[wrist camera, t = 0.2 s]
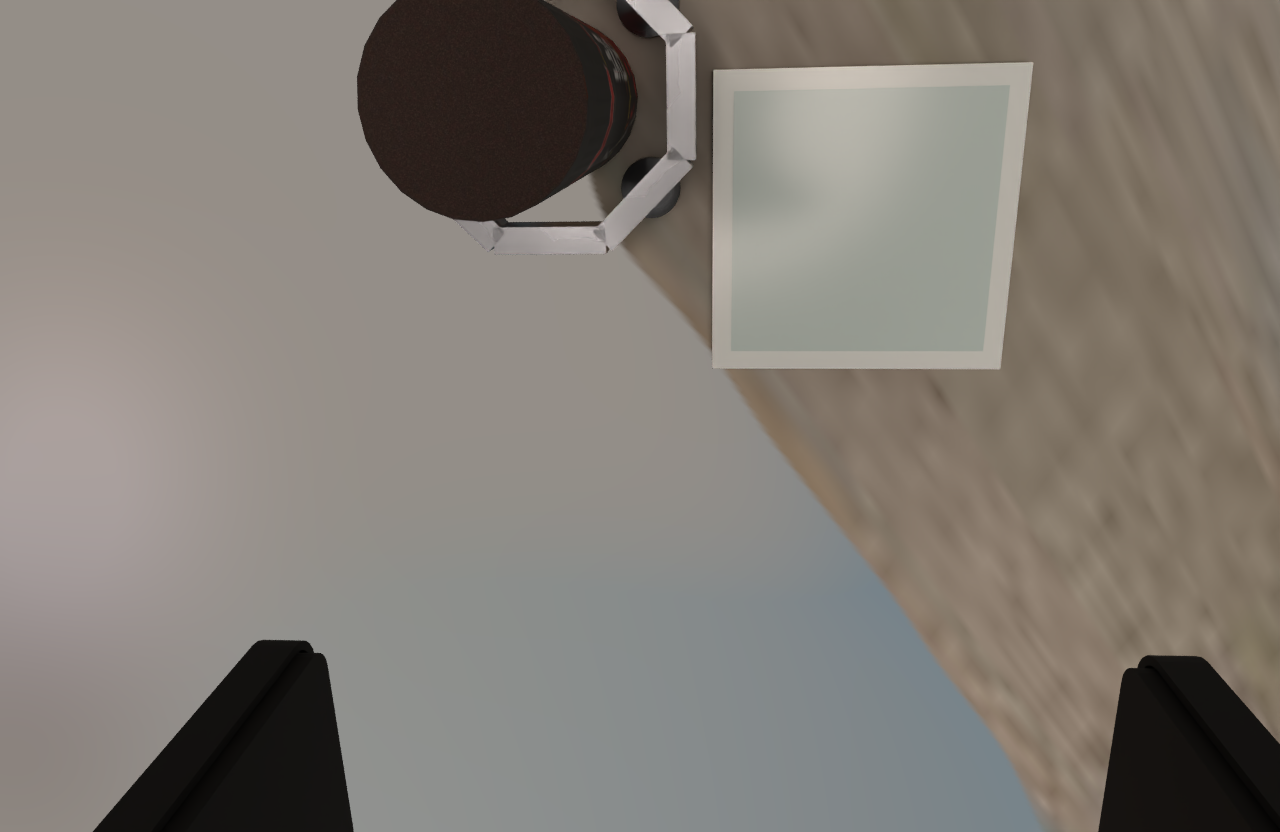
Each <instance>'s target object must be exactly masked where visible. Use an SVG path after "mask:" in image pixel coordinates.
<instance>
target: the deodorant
mask: <svg viewBox="0 0 1280 832" xmlns="http://www.w3.org/2000/svg"><path fill="white" fill-rule="evenodd" d="M357 93H358V112H359V116H360V120H361V123H362V127H363V131H364V135H365V139H366V142H367V143H368V145H369V147H370V149H371V151H372V153H373V155H374V156H375V159H376V160H377V162H378V164H379V166H380V168H381V169H382V170H383V171H384V172H385V174H386V175H387V176H388V177H389V178H390V179H391V180H392V182H393V183H394V184H395V185H396V186H397V187H398V188H399V190H400V191H401V192H403V193H404V194H406V195H407V196H408V197H410V198H411V199H413V200H414V201H415V202H417V203H418V204H420V205H421V206H423V207H424V208H426V209H428V210H430V211H433V212H435V213H438V214H441V215H444V216H447V217H449V218H452V219H454V220H465V221H476V222H487V221H493V220H498V219H503V218H509V217H513V216H515V215H517V214H519V213H521V212H523V211H525V210H527V209H529V208H531V207H533V206H535V205H537V204H539V203H541V202H542V201H544V200H546V199H547V198H549V197H551V196H552V195H554V194H556V193H558V192H559V191H561V190H562V189H564V188H566V187H568V186H569V185H571V184H573V183H574V182H576V181H578V180H579V179H581V178H583V177H584V176H586V175H588V174H589V173H591V172H593V171H594V170H596V169H598V168H599V167H601V166H603V165H604V164H606V163H607V162H608V161H609V160H610V159H611V158H612V157H614V156H615V155H616V154H617V153H618V152H619V151H620V149H621V148H622V146H623V145H624V143H625V142H626V140H627V139H628V137H629V136H630V133H631V130H632V127H633V124H634V121H635V118H636V109H637V97H638V96H637V90H636V84H635V78H634V75H633V73H632V70H631V68H630V66H629V64H628V61H627V59H626V57H625V56H624V55H623V53H622V52H621V51H620V50H619V48H618V47H617V46H616V45H615V43H614V42H613V41H612V40H610V39H609V38H608V37H606V36H605V35H604V34H602V33H601V32H600V31H598V30H597V29H595V28H593V27H591V26H589V25H588V24H586V23H584V22H582V21H580V20H578V19H577V18H575V17H573V16H571V15H569V14H567V13H566V12H564V11H562V10H560V9H558V8H556V7H555V6H553V5H551V4H549V3H547V2H545V1H544V0H396V1H395V2H394V3H393V4H392V5H391V7H390V8H389V9H388V10H387V11H386V12H385V13H384V14H383V15H382V16H381V17H380V18H379V20H378V22H377V23H376V25H375V27H374V29H373V31H372V33H371V35H370V36H369V38H368V40H367V42H366V44H365V46H364V50H363V55H362V58H361V63H360V67H359V71H358V76H357Z"/></svg>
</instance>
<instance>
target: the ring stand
mask: <svg viewBox="0 0 1280 832" xmlns="http://www.w3.org/2000/svg"><path fill="white" fill-rule="evenodd" d="M617 11H618V15H619V18H620V20H621V21H622V23H623V25H624V26H625V27H626V28H627V29H628V30H629V31H631V32H632V33H633V34H635V35H637V36H640V37H646V38H650V37H656V36H659V35H660V36H661V37H662V38H663V39H664V41H665V42H666V83H667V153H666V154H665V155H664V156H663V157H662V159H660V158H656V157H647V158H643V159H640V160H638V161H636V162H635V163H633V164H632V165H631V166H630V167H629V168H628V170H627V171H626V173H625V175H624V177H623V180H622V188H621V189H622V195H623V200H622V201H621V202H620V203H619V204H618V205H617V207H616V208H615V209H614V210H613V211H612V212H611V213H610V214H609V215H608V216H607V217H606V218H605V219H604V220H603V221H595V222H594V221H592V222H591V221H590V222H508V221H506V219H505V218H503V219H498V220H493V221H487V222H476V221H465V220H455V221H456V222H457V223H458V224H459V225H460V226H461V227H462V228H463V229H464V230H465V231H466V232H467V233H468V234H470V236H472V237H473V238H474V239H475V240H476V241H477V242H478V243H479V244H480V245H481V246H482V247H483V248H484V249H485V250H486V251H487V252H489V251H491V250H492V249H494V254H495V255H509V254H510V255H515V254H516V255H518V254H606V253H607V252H608V251H609V249H611V250H612V251H613V250H614V249H615V248H616V247H617V246H618V245H619V244H620V243H621V242H622V241H623V240H624V238H625V237H626V236H627V235H628V234H629V233H630V232H631V231H632V230H633V229H634V228H635V227H636V226H637V225H638V224H639V223H640V222H641V221H642V220H643V219H644V217H646V218H656V217H660V216H662V215H664V214H666V213H668V212H669V211H670V210H671V209H672V208H673V207H674V206H675V204H676V202H677V200H678V198H679V195H680V180H681V179H682V178H683V177H684V176H685V174H686V173H687V172H688V171H689V170H690V169H691V168H692V167H693V165H694V164H693V163H692V162H691V161H690V160H696V33H690V32H691V31H692V29H693V26H692V24H691V23H690V22H689V21H688V20H687V19H686V18H685V17H684V16H683V15H682V14H681V13H680V12H679V0H617ZM453 220H454V219H453Z"/></svg>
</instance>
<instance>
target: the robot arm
mask: <svg viewBox="0 0 1280 832" xmlns="http://www.w3.org/2000/svg"><path fill="white" fill-rule="evenodd" d="M93 832H353V823H352V818H351V811H350V804H349V798H348V792H347V786H346V779H345V773H344V766H343V760H342V755H341V747H340V742H339V735H338V728H337V722H336V716H335V709H334V703H333V697H332V691H331V684H330V679H329V671H328V665H327V661H326V659H325V657H324V655H323V654H321V653H314V651H313V648H312V647H311V645H310V643H308V642H307V641H293V640H291V641H290V640H261V641H257V642H256V643H255V644H254V645H253V646H252V647H251V648H250V649H249V650H248V652H247V653H246V654H245V655H244V656H243V657H242V659H241V660H240V661H239V662H238V663H237V664H236V666H235V667H234V668H233V669H232V670H231V671H230V673H229V674H228V675H227V676H226V677H225V678H224V679H223V681H222V682H221V683H220V684H219V685H218V686H217V688H216V689H215V690H214V691H213V692H212V694H211V695H210V696H209V697H208V698H207V699H206V700H205V702H204V703H203V704H202V705H201V706H200V708H199V709H198V710H197V711H196V712H195V713H194V714H193V716H192V717H191V718H190V719H189V720H188V721H187V723H186V724H185V725H184V726H183V727H182V728H181V730H180V731H179V732H178V733H177V734H176V735H175V737H174V738H173V739H172V740H171V741H170V742H169V744H168V745H167V746H166V747H165V748H164V749H163V751H162V752H161V753H160V754H159V755H158V756H157V758H156V759H155V760H154V761H153V762H152V763H151V764H150V766H149V767H148V768H147V769H146V770H145V771H144V773H143V774H142V775H141V776H140V777H139V778H138V780H137V781H136V782H135V783H134V784H133V785H132V787H131V788H130V789H129V790H128V791H127V792H126V794H125V795H124V796H123V797H122V798H121V799H120V801H119V802H118V803H117V804H116V805H115V806H114V808H113V809H112V810H111V811H110V812H109V813H108V815H107V816H106V817H105V818H104V819H103V821H102V822H101V823H100V824H99V825H98V826H97V828H96V829H95V830H94V831H93ZM1098 832H1280V744H1279V743H1278V742H1277V741H1276V739H1275V738H1274V737H1273V736H1272V735H1271V734H1270V733H1269V731H1268V730H1267V729H1266V728H1265V727H1264V726H1263V725H1262V723H1261V722H1260V721H1259V720H1258V719H1257V718H1256V717H1255V715H1254V714H1253V713H1252V712H1251V711H1250V710H1249V709H1248V707H1247V706H1246V705H1245V704H1244V703H1243V702H1242V701H1241V699H1240V698H1239V697H1238V696H1237V695H1236V694H1235V693H1234V691H1233V690H1232V689H1231V688H1230V687H1229V686H1228V685H1227V683H1226V682H1225V681H1224V680H1223V679H1222V678H1221V677H1220V675H1219V674H1218V673H1217V672H1216V671H1215V670H1214V669H1213V667H1212V666H1211V665H1210V664H1209V663H1208V662H1207V661H1206V660H1205V659H1203V658H1202V657H1197V656H1155V655H1147V656H1145V657H1143V658H1142V659H1141V661H1140V662H1139V664H1138V668H1129V669H1127V670H1126V671H1125V672H1124V674H1123V678H1122V682H1121V688H1120V695H1119V701H1118V708H1117V714H1116V721H1115V727H1114V734H1113V740H1112V747H1111V753H1110V760H1109V766H1108V773H1107V779H1106V786H1105V792H1104V799H1103V805H1102V811H1101V818H1100V824H1099V831H1098Z"/></svg>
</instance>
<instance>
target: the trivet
mask: <svg viewBox="0 0 1280 832" xmlns="http://www.w3.org/2000/svg"><path fill="white" fill-rule="evenodd" d="M1032 70H1033V62H1019V63H978V64H936V65H895V66H853V67H811V68H770V69H728V70H713V275H712V369H713V368H714V369H1000V366H1001V357H1002V348H1003V339H1004V329H1005V320H1006V311H1007V302H1008V292H1009V283H1010V274H1011V265H1012V255H1013V246H1014V237H1015V228H1016V218H1017V209H1018V200H1019V191H1020V181H1021V172H1022V163H1023V154H1024V144H1025V135H1026V126H1027V117H1028V107H1029V98H1030V89H1031V80H1032Z"/></svg>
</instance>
